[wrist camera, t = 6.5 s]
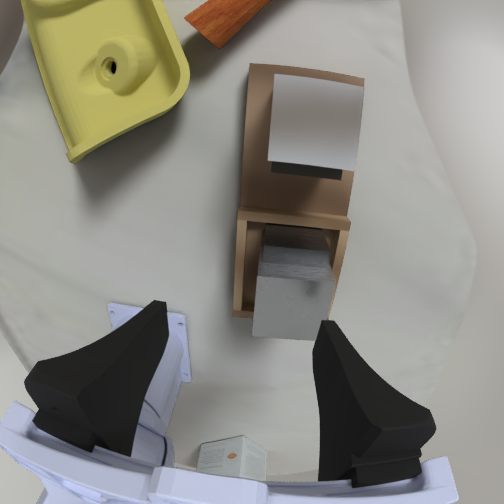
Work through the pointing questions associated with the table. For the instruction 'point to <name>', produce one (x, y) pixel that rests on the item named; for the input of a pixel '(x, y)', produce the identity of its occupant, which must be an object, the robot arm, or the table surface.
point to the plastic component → (105, 66)
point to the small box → (233, 458)
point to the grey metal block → (292, 282)
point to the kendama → (223, 18)
